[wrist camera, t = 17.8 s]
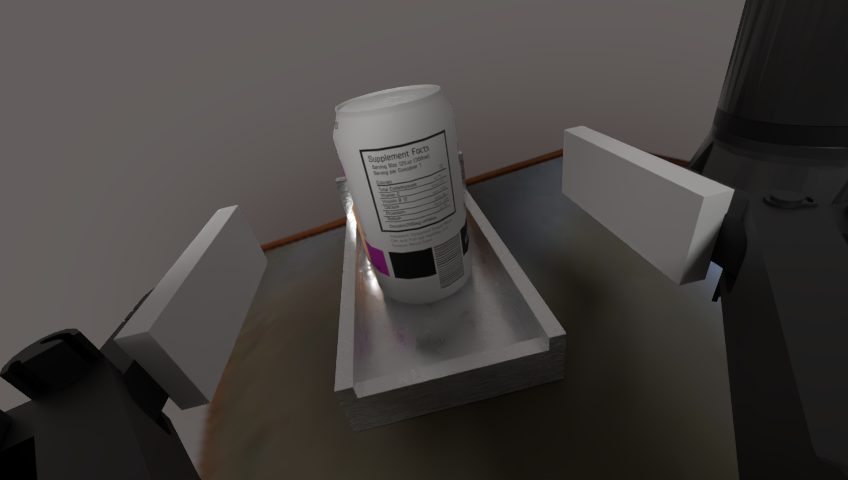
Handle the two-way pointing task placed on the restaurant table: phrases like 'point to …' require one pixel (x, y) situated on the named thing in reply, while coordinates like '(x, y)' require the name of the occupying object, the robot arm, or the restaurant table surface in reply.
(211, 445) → the restaurant table surface
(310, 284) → the restaurant table surface
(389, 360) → the white drawer tray
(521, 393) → the restaurant table surface
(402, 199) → the supplement can
